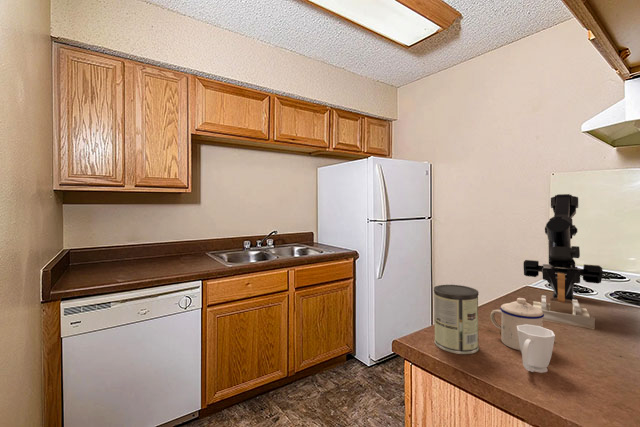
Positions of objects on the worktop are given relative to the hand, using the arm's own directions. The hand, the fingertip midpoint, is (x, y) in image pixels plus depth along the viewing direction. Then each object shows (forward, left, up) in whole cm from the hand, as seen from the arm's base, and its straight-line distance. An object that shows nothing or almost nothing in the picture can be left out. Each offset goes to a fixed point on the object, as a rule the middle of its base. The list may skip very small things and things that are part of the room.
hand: (561, 294), depth 88 cm
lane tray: (-6, 0, -9) cm, 11 cm away
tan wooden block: (-1, 0, -7) cm, 7 cm away
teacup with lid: (+22, -10, -9) cm, 25 cm away
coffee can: (+32, -22, -9) cm, 40 cm away
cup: (+35, -6, -9) cm, 36 cm away
